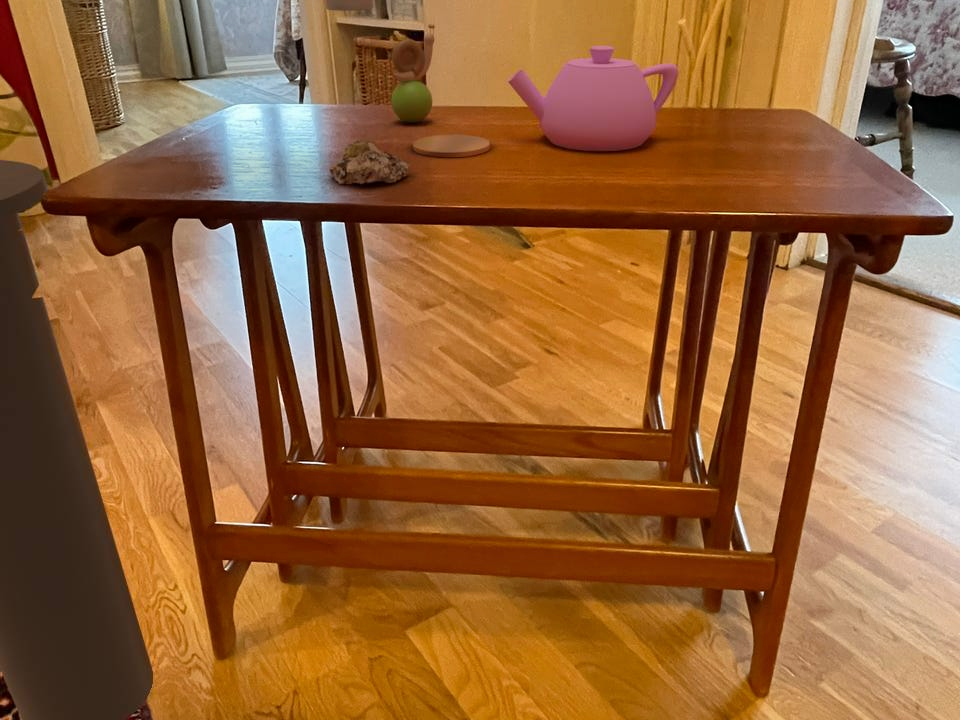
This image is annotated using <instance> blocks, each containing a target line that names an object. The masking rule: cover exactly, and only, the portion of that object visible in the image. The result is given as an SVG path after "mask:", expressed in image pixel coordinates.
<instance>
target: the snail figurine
mask: <svg viewBox="0 0 960 720" xmlns="http://www.w3.org/2000/svg"><path fill="white" fill-rule="evenodd" d="M427 27H428V29H430V32H429V33H426V34H425V35H424V37H423V42H424V47H422V46H421V44H420V43H418V42H417V41H415V40H414V39H411V38H406V39H402V40H400V41H399V42H397V43H396V45H394V48H393V49H392V53H391V62H392V65H393V68H394V69H395V70H396V72H394V73H393V77H394V78H396V79H397V80H398V81H399V82H400V83H398V84H397V85H396V86H395V88H394V89H393V91H392V94H391V99H390V101H391V103H390V104H391V107H392V111H393V112H394V113H395V115H396V116H397V118H399V119H400V120H402V121H403V122H405V123H409V124H410V123H411V124H414V123H420V122H421V121H423V120H425V119H426V118H427V117H428V116H429V114H430V113H431V111H432V107H433V95H432V93H431V91H430V89H429V88H428V86H427V85H426V84H424V83H423V82H421V81H419V80H420V79H421V78H423V77H424V76H425V75H426V74H427V72H428V71H429V68H430V66H431V62H432V59H433V58H432V57H433V52H434V51H433V49H434V43H435V35H434V33H435V31H434V30H435V28H436V25H435V23H434V24H433V23H428V25H427Z"/></svg>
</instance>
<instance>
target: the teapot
mask: <svg viewBox="0 0 960 720" xmlns="http://www.w3.org/2000/svg"><path fill="white" fill-rule="evenodd" d="M614 50H615V47H613V46H610V45H593V46H590V47H589V52H590V56H591V57H587V58H586V57H584V58H576V59H570V60H568V61H566V62H565V63H564V64H563V66H562V67H561V68H560V70H559V71H558V73H557V75H556V76H555V78H554V79H553V81H552V83H551V85H550V86H549V88H548V90H547V92H546V94H545V97H544V96H543V94H542V93H541V92H540V90H539V89H538V88H537V86H536V84H534V83H533V81H532V79H531V77H530V76H529V75H528V73H526V71H525V69H523V68H521V69H520V70H518V71H517V72H516V73H514V74H513V75H512V76H511V77H510V78H509V79H508V80H507V82H508V84H509V85H510V86H511V87H512V89H513V90H514V91H515V93H516V94H517V95H518V96H519V97H520V99H521V100H522V102H523V103H524V104H525V105H526V106H527V108H528V109H529V110H531V113H532V114H533V115H534V116H535V117H536V118H537V120H539V127H540V129H541V131H542V133H543V134H544V135H545V136H546V138H547V139H548V140H549V141H550V143H551V144H553V145H555V146H557V147H561V148H565V149H568V150H569V149H570V150H575V151H584V152H585V151H586V152H617V151H626V150H630V149H632V150H633V149H635V148H639V147H640V146H642V145H643V144H644V143H645V142H646V141H647V140H648V139H649V137H650V136H651V135H652V134H653V133H654V131H655V129H656V125H657V117H656V116H657V114H659V111H660V110H661V109H662V107H663V105H665V103H666V101H667V100H668V98H669V97H670V95H671V93H672V92H673V90H674V88H675V86H676V84H677V81H678V78H679V72H680V71H679V68H678V66H677V65H676V64H674V63H670V62H667V63H659V64H656V65H651V66H648V67H645V68H643V69H641V68H640V66H639V65H638V64H637V63H636V62H635V61H633V60H629V59H622V58H612V56H613V54H614ZM653 75H661V76H662V81H661V85H660V88H659V90H658V93H657V95H656V98H655V99H654V97H653V94H652V92H651V88H650V87H649V84H648V82H647V80H646V78H647V77H650V76H653Z"/></svg>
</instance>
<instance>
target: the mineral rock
mask: <svg viewBox="0 0 960 720" xmlns="http://www.w3.org/2000/svg"><path fill="white" fill-rule="evenodd" d="M409 169H411V166H410V164H408V163H407V162H404V161H403V159H402V158H401V157H400V156H397V155H396V154H391V153H390V152H389V151H387V150H385V151H381V150H379V149H378V148H377V147H376V145H375V142H374V141H371V140H365V139H363V140H361V141H358V140H355V141H353V142H352V143H349V144H348V145H347V147H346V148H345V149H344V151H343V152H342V155H341V157H340V158H339V160H338V162H336V163H333V165H332V166H330V167H329V170H328V171H329V173H330V174H331V175H332V179H334V181H335V182H337V183H338V184H339V185H351V184H359V185H364V184H366V185H368V184H372V183H375V182H384V183H387V184H391V183H396V182H397V181H400V180H401V179H402V178H405V177H407V176H408V174H409Z"/></svg>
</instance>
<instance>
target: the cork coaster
mask: <svg viewBox="0 0 960 720" xmlns="http://www.w3.org/2000/svg"><path fill="white" fill-rule="evenodd" d="M490 148H491V143H490V141H489V140H488V139H486V138H484V137H480V136H475V135H468V134H439V135H431V136H426V137H421V138H418V139H416V140H415V141H413V142H412V149H413V151H414V153H417V154H419V155H423V156H426V157H427V156H428V157H433V158H435V157H436V158H464V157H472V156H473V157H474V156H478V155H481V154H484V153H487V152H488V151H489V150H490Z"/></svg>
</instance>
